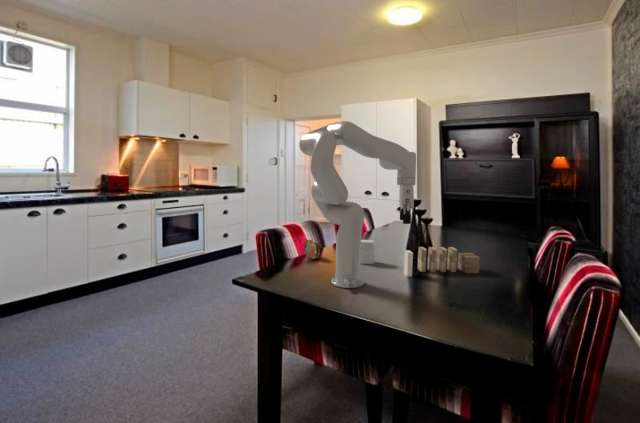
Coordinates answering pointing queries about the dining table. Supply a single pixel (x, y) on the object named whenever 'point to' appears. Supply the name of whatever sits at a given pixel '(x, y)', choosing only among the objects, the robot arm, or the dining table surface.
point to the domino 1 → (408, 263)
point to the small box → (367, 252)
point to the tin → (312, 249)
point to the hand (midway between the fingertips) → (405, 221)
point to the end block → (468, 262)
